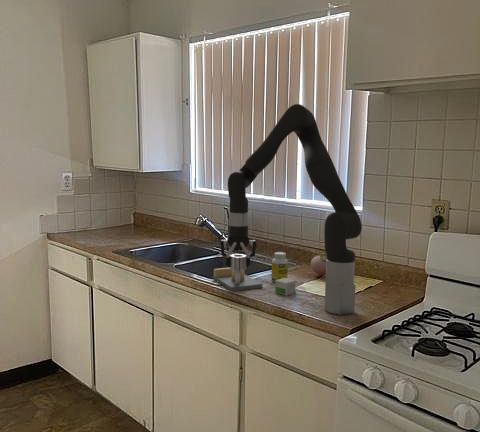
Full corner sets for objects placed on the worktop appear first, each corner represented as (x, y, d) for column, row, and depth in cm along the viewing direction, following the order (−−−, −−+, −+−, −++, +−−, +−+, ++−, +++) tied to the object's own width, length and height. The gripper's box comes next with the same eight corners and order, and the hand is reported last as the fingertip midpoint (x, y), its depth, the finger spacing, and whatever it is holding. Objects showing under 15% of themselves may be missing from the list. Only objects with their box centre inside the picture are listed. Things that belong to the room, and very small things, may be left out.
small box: (274, 292, 185) (274, 279, 184) (284, 289, 189) (284, 277, 188) (286, 296, 181) (286, 283, 180) (295, 292, 185) (296, 280, 184)
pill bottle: (274, 283, 197) (275, 255, 195) (269, 279, 203) (269, 251, 202) (289, 282, 199) (290, 254, 197) (284, 278, 205) (284, 251, 203)
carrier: (262, 287, 191) (262, 268, 190) (231, 291, 185) (231, 271, 184) (242, 276, 207) (242, 259, 206) (213, 279, 202) (213, 261, 201)
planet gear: (249, 269, 188) (249, 256, 187) (233, 271, 185) (233, 258, 185) (242, 265, 194) (242, 253, 193) (227, 267, 191) (227, 254, 190)
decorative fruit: (307, 274, 213) (307, 251, 212) (324, 273, 215) (325, 250, 214) (315, 279, 204) (316, 256, 203) (334, 278, 206) (334, 255, 205)
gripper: (257, 222, 191) (256, 264, 193) (220, 222, 191) (219, 264, 193) (257, 225, 183) (256, 269, 186) (219, 225, 183) (218, 268, 186)
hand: (237, 266), depth 189 cm, fingers closed on planet gear, 6 cm apart
